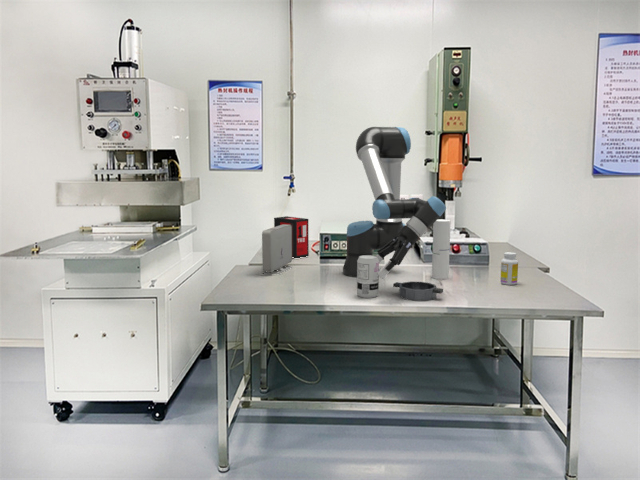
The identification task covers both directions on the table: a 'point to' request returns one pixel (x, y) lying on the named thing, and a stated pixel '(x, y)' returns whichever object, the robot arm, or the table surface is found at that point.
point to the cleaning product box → (296, 234)
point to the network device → (276, 248)
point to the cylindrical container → (441, 249)
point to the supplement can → (367, 276)
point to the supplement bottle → (509, 269)
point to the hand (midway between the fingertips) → (374, 272)
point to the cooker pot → (417, 290)
